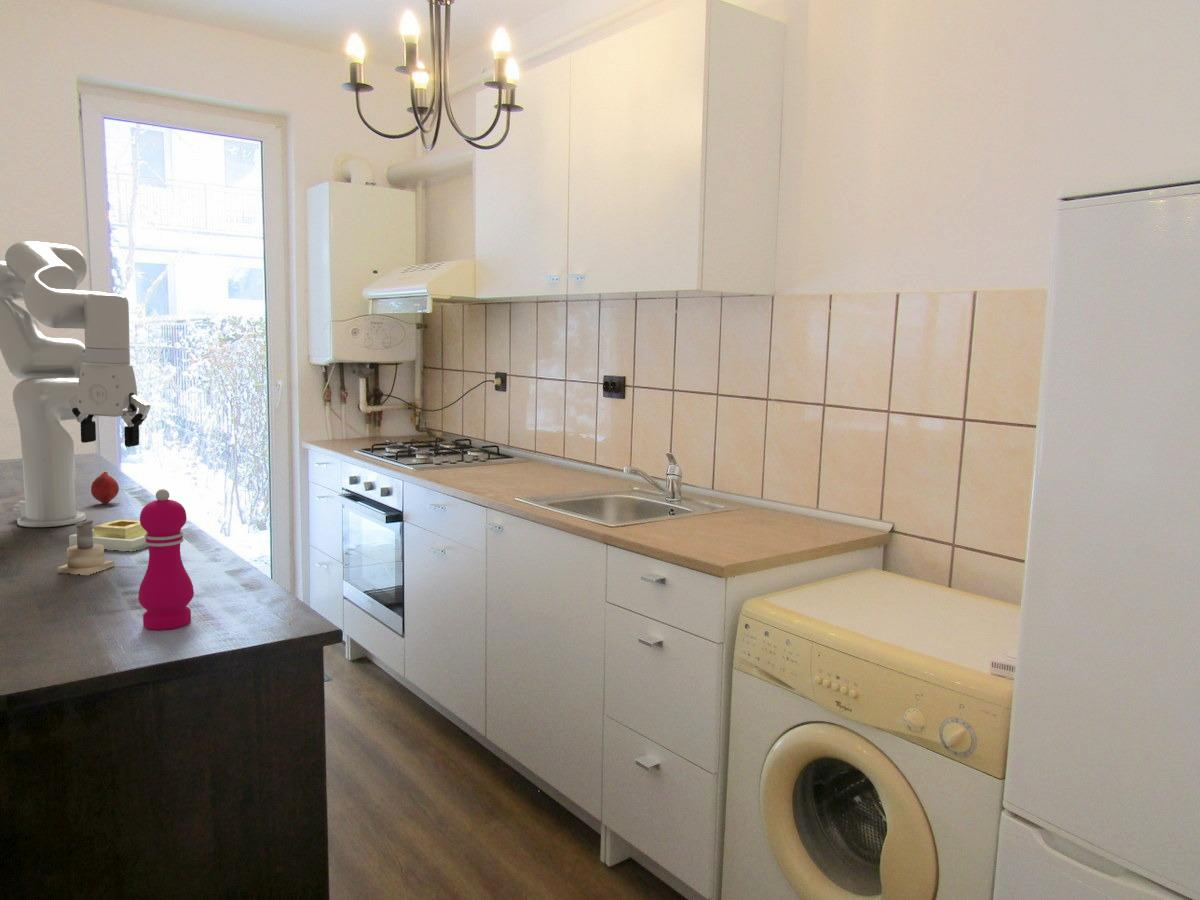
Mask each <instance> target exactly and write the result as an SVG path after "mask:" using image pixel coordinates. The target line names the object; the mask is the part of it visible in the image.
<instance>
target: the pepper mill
mask: <svg viewBox="0 0 1200 900" xmlns="http://www.w3.org/2000/svg"><path fill="white" fill-rule="evenodd" d="M155 498H156V500H152V501H150V502H148V503H147V504H146V505H144V506H143V508H142V509H141V511H140V514H139V521H140V524H141V526H142V527H143V529H144V530H146V531H147V534H145V536H144V537H145V538H146V539H145V540H146V541H145V544H146V545H148V547H147V548H148V554H149V555H148V564H147V568H146V571H145V573H144V576H143V578H142V580H141V582H140V585H139V589H138V597H137V598H138V603H139V604H140V605H141V606H142V608H143V609H145V610H146V611H145V612H144V613H143V614H142V622H143V623H142V625H143V628H145V629H147V630H151V631H167V630H174V629H178V628H179V629H180V628H182V627H184V626H187V625H188V624H190V623H191V621H192V610H191V608H190V607H189V606H188V605H189V603H190V602H191V601H192V600H193V598H194V595H195V592H194V584H193V583H192V579H191V578H190V575H189V574H188V572H187V570H186V568H185V566H184V563H183V560H182V557H181V556H182V555H181V543H183V542H184V538H183V537H184V531H182V528H183V527H184V526H185V524H186V523H187V512H186V508H185V507H184V506H183V504H182V503H180V502H178V501H176V500H173V499H169V498H170V493H169V491H168V490H167V489H164V488H161V489H158V490H157V491H156V493H155ZM180 530H181V531H180Z"/></svg>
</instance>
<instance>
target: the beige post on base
mask: <svg viewBox="0 0 1200 900" xmlns="http://www.w3.org/2000/svg"><path fill="white" fill-rule="evenodd" d="M93 523H94V520H91V519H88V520H83V521H81V522H78V523H74V527H76V529H75V530H76V531H75V532H76V534H77V545H75V546H71V547H67V548H66V559H67V560H66V561H67V562H66V564H64V565H60V566H58V567H57V573H58V574H59V573H60V574H67V573H70V574H71V575H78V574H80V575H81V576H91V575H93V573H94V574H96V572H97V573H99V571H100V572H102V570H103V571H106V570H108V569H110V567H111V568H113V566H114V567H115V561H114V560H106V559H105V550H104V546H103V545H101V544H93V531H92V529H93ZM107 568H108V569H107ZM70 574H69V575H70ZM90 574H91V575H90Z"/></svg>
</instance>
